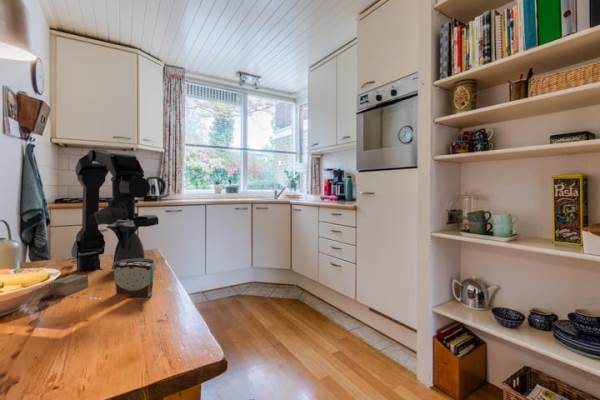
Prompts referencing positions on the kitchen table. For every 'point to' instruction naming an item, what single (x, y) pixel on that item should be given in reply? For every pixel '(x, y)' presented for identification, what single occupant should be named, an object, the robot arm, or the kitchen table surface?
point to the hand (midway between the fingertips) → (124, 248)
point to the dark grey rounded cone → (130, 250)
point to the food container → (134, 277)
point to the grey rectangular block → (68, 284)
